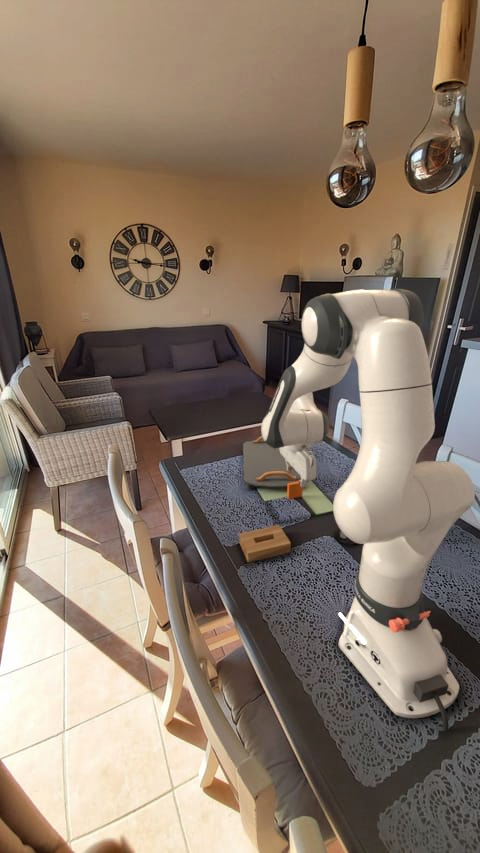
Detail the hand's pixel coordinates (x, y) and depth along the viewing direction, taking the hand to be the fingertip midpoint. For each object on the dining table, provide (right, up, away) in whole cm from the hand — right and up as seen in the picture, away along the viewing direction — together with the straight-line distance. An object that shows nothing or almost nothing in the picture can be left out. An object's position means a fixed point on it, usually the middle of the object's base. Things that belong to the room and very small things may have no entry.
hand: (296, 478), depth 117 cm
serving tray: (-6, +1, +24) cm, 25 cm away
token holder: (-12, -17, -18) cm, 27 cm away
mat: (0, -7, +3) cm, 8 cm away
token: (0, -7, +3) cm, 8 cm away
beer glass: (+12, -15, -14) cm, 24 cm away
